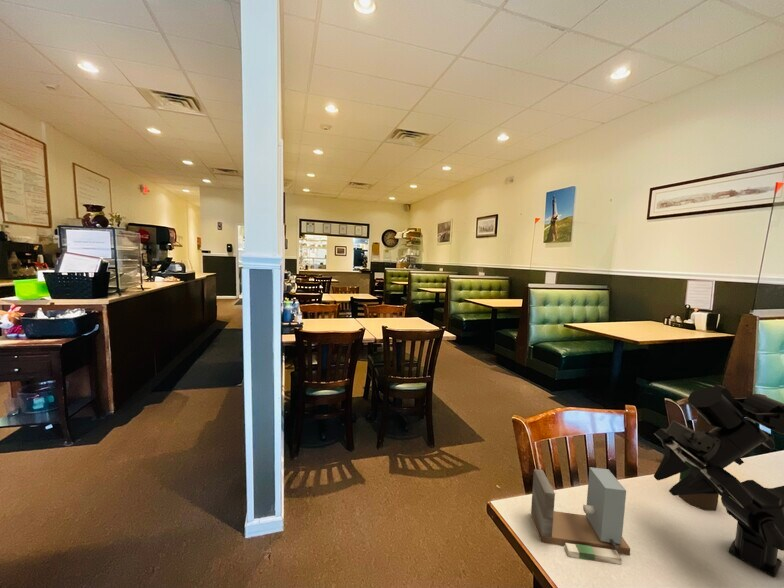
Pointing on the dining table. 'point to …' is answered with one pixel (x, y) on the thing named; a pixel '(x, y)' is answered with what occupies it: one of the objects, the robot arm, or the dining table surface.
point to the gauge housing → (569, 527)
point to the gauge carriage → (605, 505)
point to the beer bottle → (700, 499)
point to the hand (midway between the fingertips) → (662, 485)
